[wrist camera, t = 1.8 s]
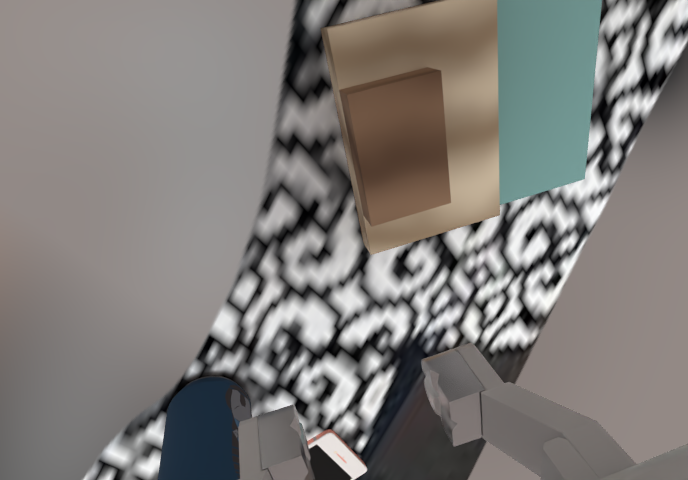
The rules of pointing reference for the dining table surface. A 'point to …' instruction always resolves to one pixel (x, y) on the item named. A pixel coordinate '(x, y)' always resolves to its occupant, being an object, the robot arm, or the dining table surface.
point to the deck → (458, 95)
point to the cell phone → (333, 458)
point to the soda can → (204, 431)
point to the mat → (544, 92)
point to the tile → (398, 144)
